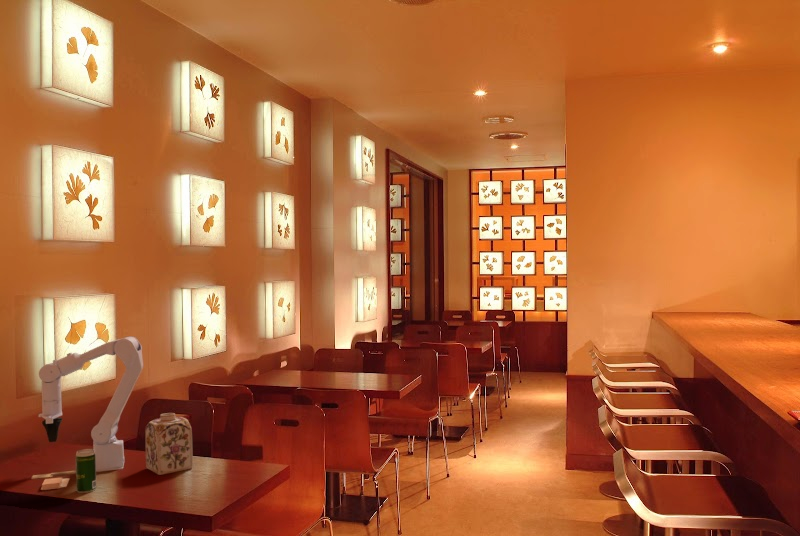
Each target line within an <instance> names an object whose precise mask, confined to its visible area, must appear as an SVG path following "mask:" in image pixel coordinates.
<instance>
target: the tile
mask: <svg viewBox="0 0 800 536" xmlns="http://www.w3.org/2000/svg"><path fill="white" fill-rule="evenodd" d="M62 479H63V477H62V476H61V477H50V478H44V480H43V482H42V484H41V488H42V491H47V490H48V491H49V490H56V489H61V488H62V487H61V484H62Z"/></svg>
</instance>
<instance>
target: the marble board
mask: <svg viewBox="0 0 800 536" xmlns="http://www.w3.org/2000/svg"><path fill="white" fill-rule="evenodd" d="M70 479H71V478H70V477H69V478H62V484H61V487H60V488H67V486H68V484H69V481H70ZM40 490H42V487H41V488H40ZM42 491H43V490H42Z"/></svg>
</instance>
